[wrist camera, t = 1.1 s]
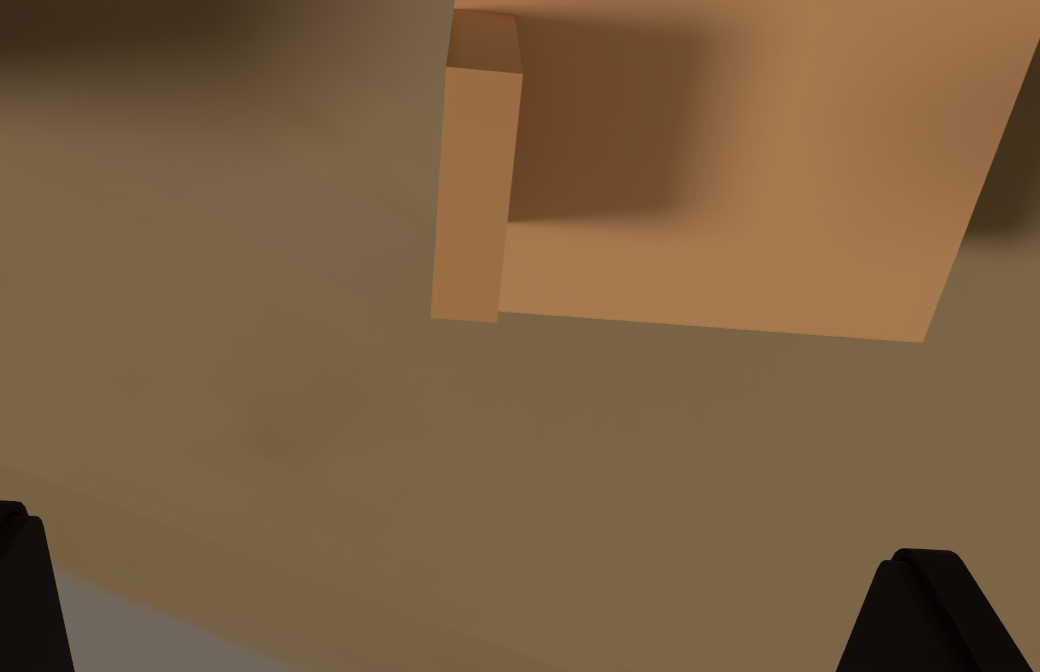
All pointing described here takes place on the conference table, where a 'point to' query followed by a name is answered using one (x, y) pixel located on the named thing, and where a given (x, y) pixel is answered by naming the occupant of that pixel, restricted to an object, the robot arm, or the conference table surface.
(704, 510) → the conference table surface
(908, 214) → the lid
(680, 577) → the conference table surface
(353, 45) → the conference table surface
